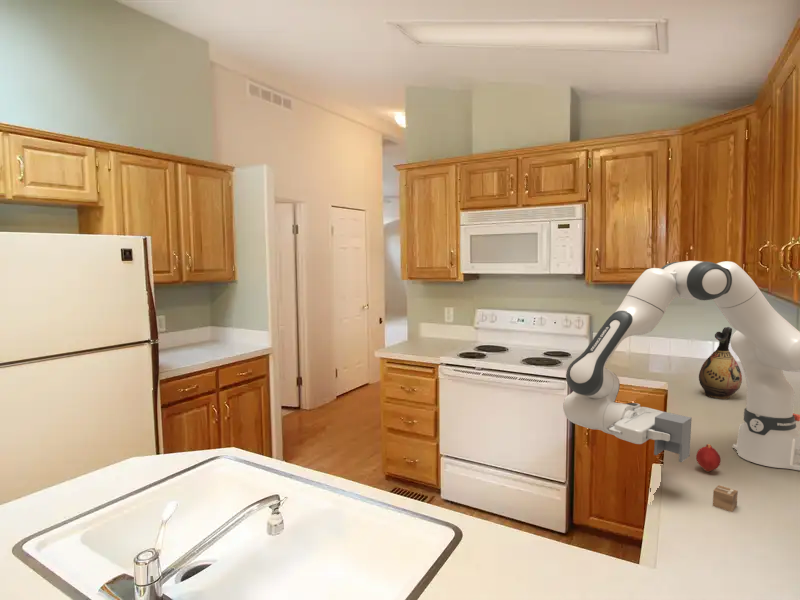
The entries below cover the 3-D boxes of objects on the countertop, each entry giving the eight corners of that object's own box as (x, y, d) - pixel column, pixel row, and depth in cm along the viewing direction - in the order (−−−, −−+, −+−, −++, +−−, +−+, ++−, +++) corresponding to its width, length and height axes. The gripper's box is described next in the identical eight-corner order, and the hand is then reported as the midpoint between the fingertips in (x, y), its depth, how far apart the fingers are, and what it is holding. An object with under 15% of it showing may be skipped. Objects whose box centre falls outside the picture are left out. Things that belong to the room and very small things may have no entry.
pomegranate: (697, 465, 141) (698, 438, 140) (721, 470, 138) (722, 443, 137) (694, 472, 137) (695, 444, 136) (718, 477, 133) (719, 449, 132)
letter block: (717, 500, 121) (718, 484, 121) (736, 506, 118) (737, 490, 118) (712, 506, 118) (713, 489, 118) (731, 512, 115) (732, 495, 115)
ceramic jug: (734, 404, 198) (738, 331, 196) (692, 396, 210) (696, 327, 207) (746, 395, 210) (750, 327, 207) (705, 388, 221) (709, 323, 219)
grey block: (662, 448, 128) (664, 411, 128) (689, 455, 124) (691, 417, 123) (653, 455, 124) (654, 417, 123) (680, 463, 119) (682, 423, 119)
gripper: (603, 417, 126) (660, 431, 116) (636, 401, 139) (690, 412, 129) (603, 441, 126) (659, 457, 116) (636, 422, 140) (689, 435, 130)
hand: (676, 433), depth 123 cm, fingers closed on grey block, 6 cm apart
